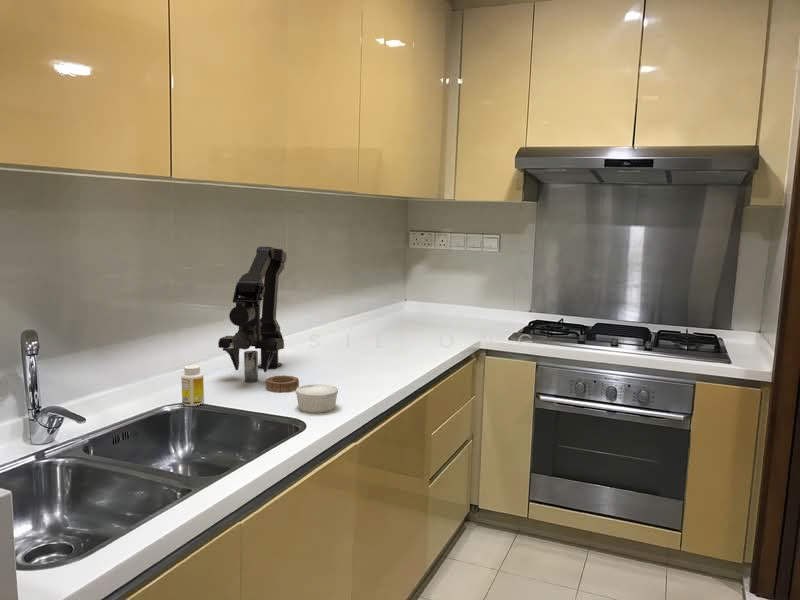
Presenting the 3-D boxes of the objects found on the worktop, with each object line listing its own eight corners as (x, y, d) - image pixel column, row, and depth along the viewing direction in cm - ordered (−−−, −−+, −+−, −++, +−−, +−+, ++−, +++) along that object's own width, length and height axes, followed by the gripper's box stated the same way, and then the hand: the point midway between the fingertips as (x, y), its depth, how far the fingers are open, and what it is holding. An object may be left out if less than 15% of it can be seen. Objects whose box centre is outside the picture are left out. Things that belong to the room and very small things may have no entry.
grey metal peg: (247, 378, 203) (247, 350, 202) (260, 379, 202) (259, 351, 201) (242, 382, 199) (241, 353, 198) (254, 383, 199) (254, 353, 197)
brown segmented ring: (273, 382, 199) (273, 374, 199) (302, 385, 197) (302, 376, 197) (261, 390, 190) (261, 382, 190) (291, 393, 188) (291, 384, 188)
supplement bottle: (205, 400, 180) (204, 364, 178) (201, 406, 174) (200, 369, 173) (184, 401, 179) (183, 364, 178) (180, 407, 174) (178, 369, 172)
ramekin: (317, 399, 183) (317, 381, 182) (346, 407, 176) (347, 388, 175) (286, 408, 174) (286, 389, 173) (316, 417, 167) (316, 397, 166)
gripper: (208, 323, 192) (210, 375, 194) (269, 326, 189) (269, 379, 191) (226, 317, 203) (227, 366, 205) (283, 320, 200) (284, 370, 202)
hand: (251, 371), depth 200 cm, fingers open, 9 cm apart
